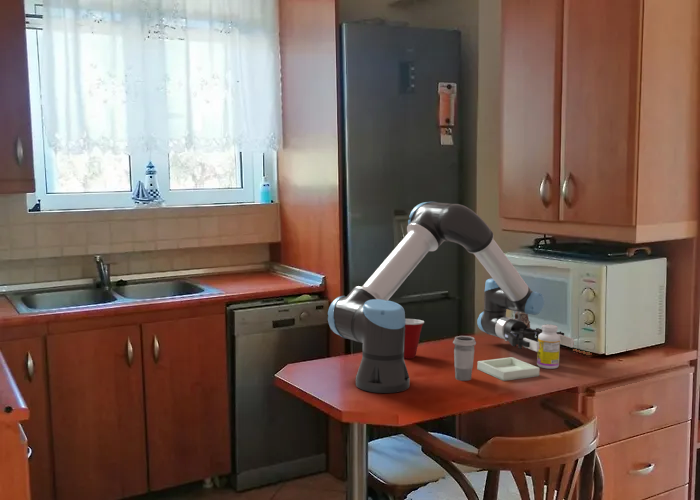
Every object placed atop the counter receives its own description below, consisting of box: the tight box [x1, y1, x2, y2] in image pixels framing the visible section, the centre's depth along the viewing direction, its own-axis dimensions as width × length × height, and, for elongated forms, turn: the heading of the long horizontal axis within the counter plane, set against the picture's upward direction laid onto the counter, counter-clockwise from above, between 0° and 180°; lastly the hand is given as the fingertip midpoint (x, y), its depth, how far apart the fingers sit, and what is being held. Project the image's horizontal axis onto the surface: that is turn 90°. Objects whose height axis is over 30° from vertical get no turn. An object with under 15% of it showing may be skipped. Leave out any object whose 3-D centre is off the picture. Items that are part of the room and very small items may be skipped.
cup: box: [452, 335, 477, 382], centre depth 218 cm, size 7×7×12 cm
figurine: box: [514, 311, 531, 328], centre depth 265 cm, size 7×7×12 cm
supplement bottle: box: [536, 323, 561, 370], centre depth 233 cm, size 7×7×13 cm
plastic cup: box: [404, 318, 425, 359], centre depth 242 cm, size 11×11×12 cm
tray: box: [476, 356, 541, 382], centre depth 226 cm, size 13×13×2 cm
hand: (555, 345), depth 230 cm, fingers open, 13 cm apart
